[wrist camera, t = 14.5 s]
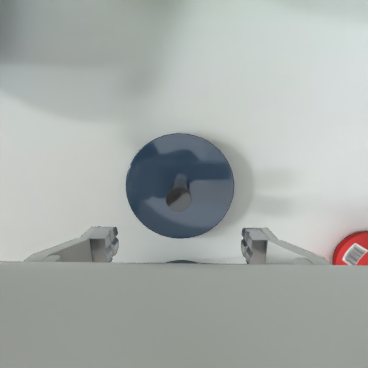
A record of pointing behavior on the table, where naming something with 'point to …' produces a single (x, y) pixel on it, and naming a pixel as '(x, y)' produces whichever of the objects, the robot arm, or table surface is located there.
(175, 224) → the lid
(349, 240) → the canned food
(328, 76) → the table surface
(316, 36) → the table surface
